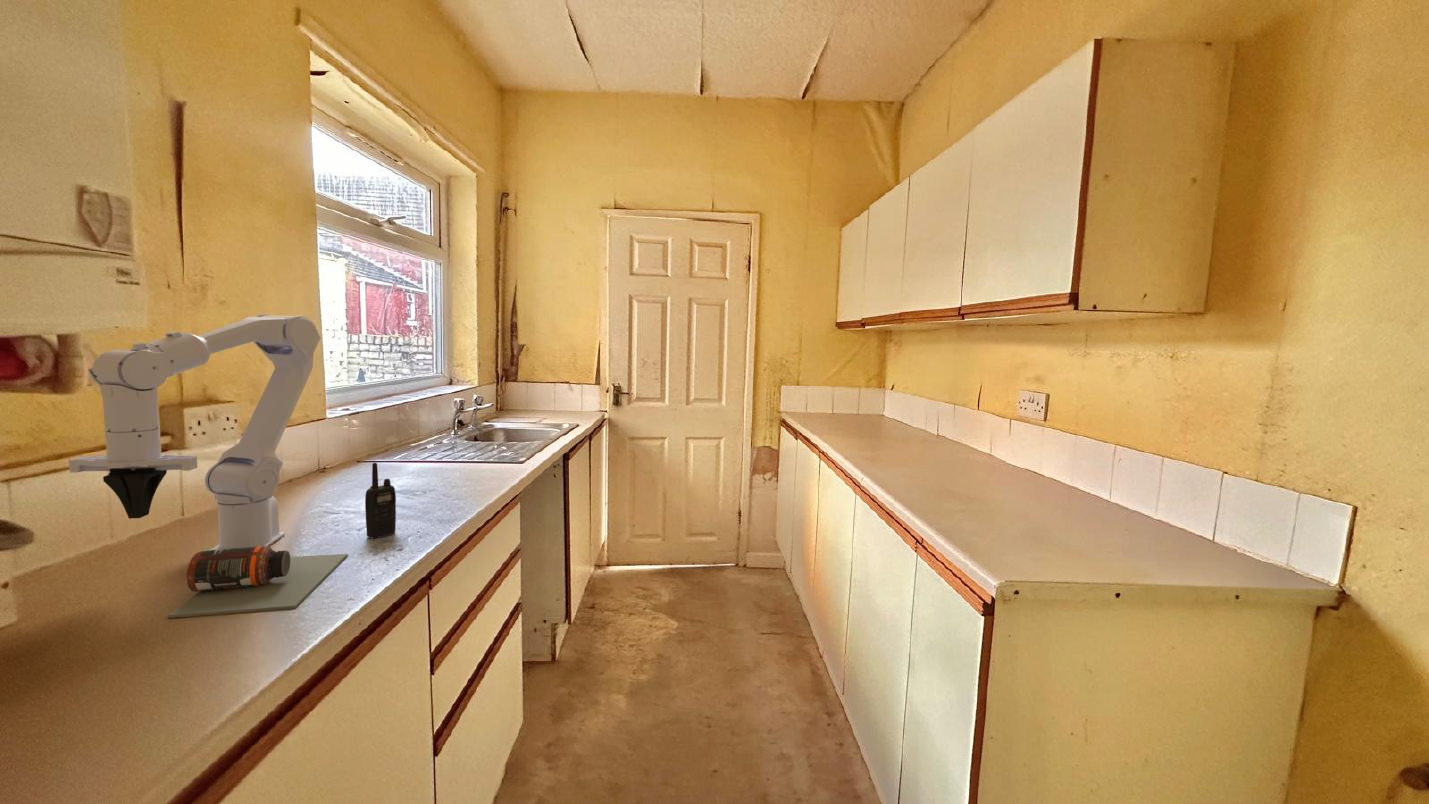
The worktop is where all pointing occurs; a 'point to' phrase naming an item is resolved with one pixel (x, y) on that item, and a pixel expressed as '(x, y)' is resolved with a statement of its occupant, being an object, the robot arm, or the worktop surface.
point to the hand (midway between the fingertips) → (138, 516)
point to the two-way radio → (380, 507)
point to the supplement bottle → (236, 568)
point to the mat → (265, 590)
